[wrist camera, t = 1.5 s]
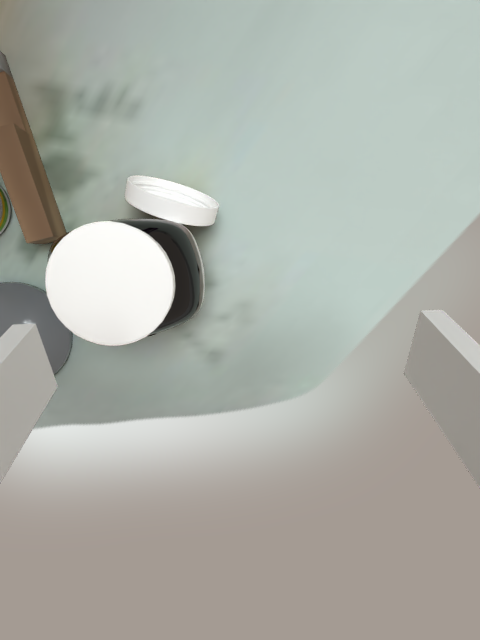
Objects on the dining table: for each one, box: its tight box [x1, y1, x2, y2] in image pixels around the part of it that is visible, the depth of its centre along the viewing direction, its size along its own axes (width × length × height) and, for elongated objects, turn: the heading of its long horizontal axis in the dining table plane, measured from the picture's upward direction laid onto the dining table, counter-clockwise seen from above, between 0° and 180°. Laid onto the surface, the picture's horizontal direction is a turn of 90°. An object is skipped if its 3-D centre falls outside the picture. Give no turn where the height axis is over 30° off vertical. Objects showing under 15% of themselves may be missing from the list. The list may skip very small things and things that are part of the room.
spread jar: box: [45, 175, 219, 346], centre depth 25 cm, size 12×11×12 cm
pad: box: [0, 282, 72, 374], centre depth 31 cm, size 9×9×1 cm
